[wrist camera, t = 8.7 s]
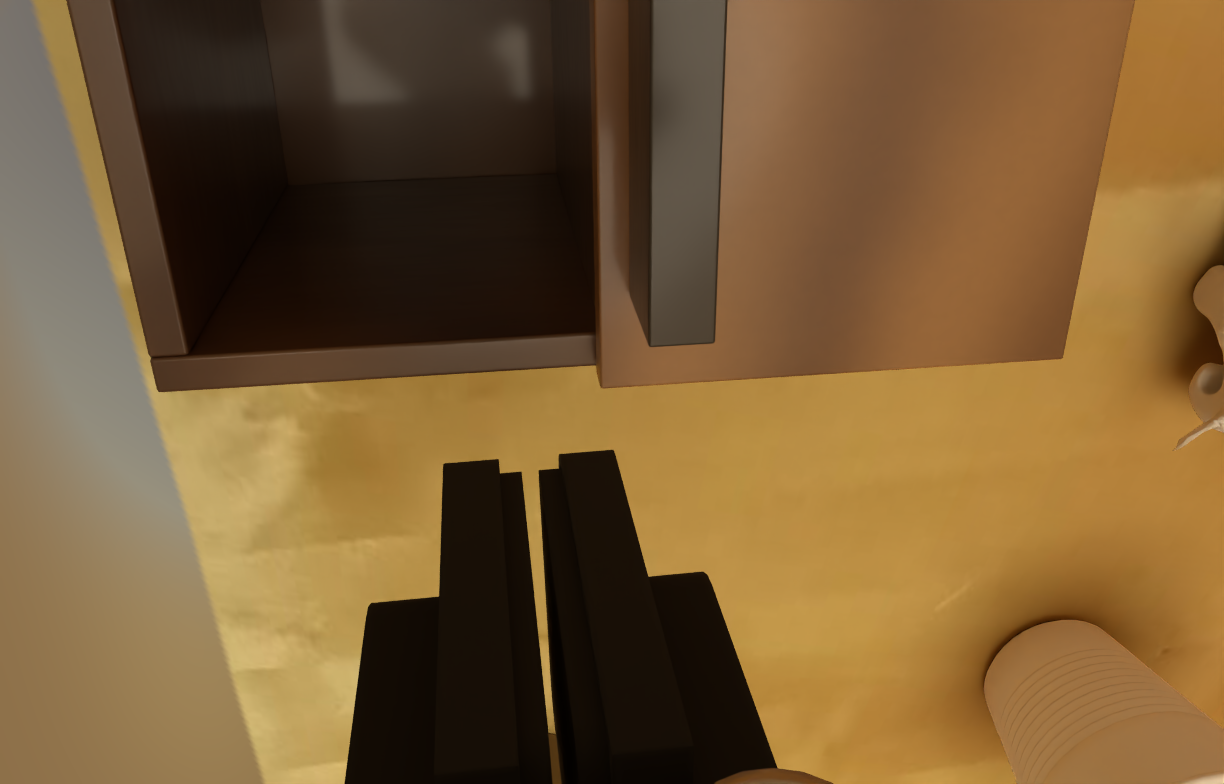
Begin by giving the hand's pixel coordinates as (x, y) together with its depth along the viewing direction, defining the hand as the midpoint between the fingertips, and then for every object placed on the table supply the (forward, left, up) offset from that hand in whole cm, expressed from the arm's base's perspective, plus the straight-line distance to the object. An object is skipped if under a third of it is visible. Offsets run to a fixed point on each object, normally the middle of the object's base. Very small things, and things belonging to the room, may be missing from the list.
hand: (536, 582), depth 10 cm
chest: (-1, +3, -25) cm, 25 cm away
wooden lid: (+7, -1, -11) cm, 13 cm away
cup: (+11, -33, -26) cm, 43 cm away
